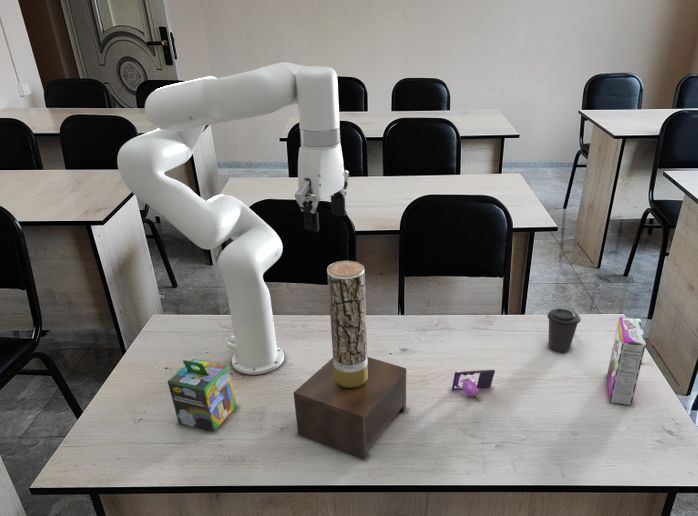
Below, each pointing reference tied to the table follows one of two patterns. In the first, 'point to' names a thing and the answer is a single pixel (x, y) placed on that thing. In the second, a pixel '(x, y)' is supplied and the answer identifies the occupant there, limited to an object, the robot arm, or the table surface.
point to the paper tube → (348, 322)
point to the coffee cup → (562, 329)
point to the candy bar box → (625, 360)
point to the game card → (469, 384)
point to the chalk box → (202, 394)
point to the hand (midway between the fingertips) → (325, 222)
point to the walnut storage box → (350, 407)
